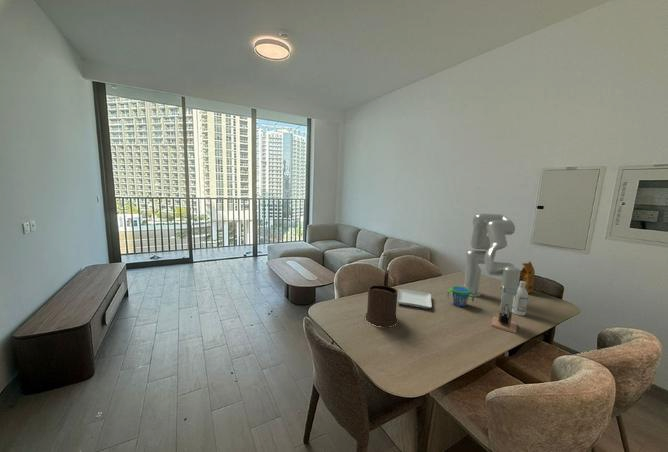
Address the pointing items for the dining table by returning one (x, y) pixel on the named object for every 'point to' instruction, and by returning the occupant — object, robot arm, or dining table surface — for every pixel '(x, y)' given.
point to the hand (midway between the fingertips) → (504, 320)
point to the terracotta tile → (504, 325)
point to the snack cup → (460, 295)
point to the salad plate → (414, 298)
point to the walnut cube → (508, 316)
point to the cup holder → (382, 304)
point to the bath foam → (520, 300)
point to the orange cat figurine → (527, 276)
